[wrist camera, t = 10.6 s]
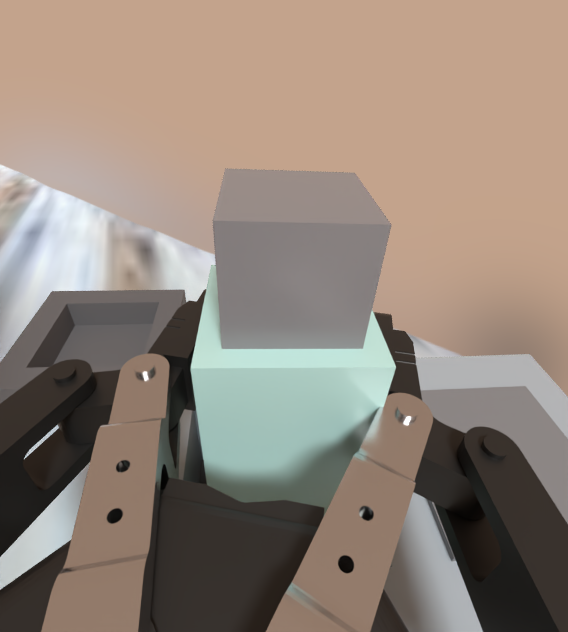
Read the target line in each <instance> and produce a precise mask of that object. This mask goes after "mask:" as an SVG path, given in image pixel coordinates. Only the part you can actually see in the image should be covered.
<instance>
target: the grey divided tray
mask: <svg viewBox="0 0 568 632" xmlns="http://www.w3.org/2000/svg"><path fill="white" fill-rule="evenodd" d="M416 365H417V371H418V377H419V383H420V390H421V396H422V401H423V402H424V403H425V404H426V405H427V406H428V407H429V409H430V410H431V412H432V415H433V417H434V418H436V419H437V420H438V421H440V422H442V423H443V424H445V425H447V426H450V427H452V428H454V429H457V430H459V431H461V432H464V433H467V431H468V430H470V429H471V428H474V427H479V426H482V427H489V428H493V429H495V430H498V431H500V432H502V433H504V434H505V435H507V436H508V437H509V438H510V439H512V440H513V441H514V442H515V443H516V444H517V446H518V447H519V449H520V450H521V452H522V453H523V455H524V456H525V458H526V459H527V461H528V463H529V464H530V466H531V467H532V469H533V470H534V472H535V474H536V475H537V477H538V478H539V480H540V481H541V483H542V485H543V486H544V488H545V489H546V491H547V492H548V494H549V495H550V497H551V499H552V500H553V502H554V503H555V505H556V506H557V508H558V510H559V511H560V513H561V514H562V516H563V517H564V519H565V521H566V522H567V524H568V397H567V396H566V394H565V393H564V392H563V391H562V390H561V389H560V388H559V387H558V386H557V384H556V383H555V382H554V381H553V380H552V379H551V378H550V377H549V375H548V374H547V373H546V372H545V371H544V370H543V369H542V368H541V366H540V365H539V364H538V363H537V362H536V361H535V360H534V359H533V357H532V356H531V355H530V354H523V355H522V354H521V355H493V356H461V357H430V358H416ZM180 425H181V427H180V454H179V479H180V480H185V481H190V482H195V483H200V484H206V485H207V481H206V474H205V467H204V460H203V453H202V446H201V439H200V432H199V425H198V418H197V411H191V410H186V409H184V411H183V413H182V415H181V417H180ZM384 590H385V592H386V593H387V595H388V597H389V598H390V600H391V602H392V603H393V605H394V607H395V608H396V610H397V612H398V614H399V615H400V617H401V619H402V620H403V622H404V624H405V625H406V627H407V629H408V631H409V632H483V630H482V628H481V625H480V622H479V620H478V617H477V615H476V612H475V609H474V607H473V604H472V602H471V599H470V596H469V594H468V591H467V588H466V586H465V583H464V581H463V578H462V575H461V573H460V570H459V568H458V565H457V562H456V560H455V557H454V554H453V552H452V549H451V547H450V544H449V541H448V539H447V536H446V534H445V531H444V528H443V526H442V523H441V521H440V518H439V515H438V513H437V510H436V507H435V505H434V502H432V501H430V500H428V499H426V498H424V497H422V496H420V495H418V494H416V493H414V492H413V495H412V498H411V501H410V504H409V508H408V511H407V514H406V517H405V521H404V524H403V527H402V530H401V534H400V537H399V540H398V543H397V547H396V550H395V553H394V556H393V559H392V563H391V566H390V569H389V572H388V576H387V579H386V582H385V585H384Z"/></svg>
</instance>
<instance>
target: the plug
mask: <svg viewBox="0 0 568 632" xmlns="http://www.w3.org/2000/svg"><path fill="white" fill-rule="evenodd" d="M390 229H391V223H390V222H389V221H388V219H387V218H386V216H385V215H384V213H383V212H382V211H381V209H380V208H379V206H378V205H377V204H376V202H375V201H374V199H373V198H372V196H371V195H370V194H369V192H368V191H367V189H366V188H365V187H364V185H363V184H362V182H361V181H360V180H359V178H358V177H357V175H356V174H355V173H343V172H311V171H283V170H280V171H279V170H250V169H225V172H224V177H223V181H222V185H221V189H220V193H219V197H218V201H217V206H216V210H215V214H214V218H213V231H214V244H215V259H216V265H211V269H210V274H209V279H208V284H207V289H206V294H205V299H204V304H203V309H202V314H201V319H200V324H199V329H198V334H197V339H196V344H195V348H194V353H193V358H192V363H191V375H192V383H193V390H194V397H195V404H196V411H197V418H198V425H199V432H200V439H201V446H202V453H203V460H204V467H205V474H206V481H207V485H208V486H210V487H212V488H214V489H216V490H218V491H220V492H222V493H224V494H226V495H228V496H230V497H232V498H234V499H236V500H238V501H240V502H245V503H248V502H262V501H277V500H288V501H293V502H298V503H304V504H309V505H314V506H319V507H324V515H325V513H326V511H327V509H328V507H329V505H330V503H331V501H332V499H333V497H334V495H335V493H336V491H337V488H338V486H339V484H340V482H341V480H342V478H343V476H344V474H345V472H346V470H347V468H348V466H349V464H350V462H351V460H352V458H353V456H354V454H355V453H356V452H358V451H359V449H360V447H361V445H362V443H363V441H364V438H365V436H366V434H367V432H368V430H369V428H370V426H371V424H372V422H373V420H374V418H375V415H376V413H377V411H378V409H379V407H384V404H385V401H386V398H387V395H388V391H389V388H390V385H391V382H392V379H393V376H394V372H395V369H396V366H395V363H394V361H393V358H392V356H391V354H390V351H389V349H388V346H387V344H386V342H385V339H384V337H383V334H382V332H381V330H380V327H379V325H378V323H377V320H376V318H375V315H374V313H373V311H372V307H373V302H374V298H375V294H376V290H377V285H378V281H379V276H380V272H381V268H382V263H383V259H384V255H385V251H386V246H387V242H388V238H389V233H390Z"/></svg>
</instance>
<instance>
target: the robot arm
mask: <svg viewBox="0 0 568 632" xmlns="http://www.w3.org/2000/svg"><path fill="white" fill-rule="evenodd" d="M205 294H206V289H205V290H204V291H203V293H202V294H201V296H200V297H199V299H198V301H197V302H195V301H188V302H187V303H185V304H184V305H182V306H181V307H179V308H178V309H177V311H176V312H175V313H174V315H173V316H172V319H170V321H169V322H168V324H167V325H166V327H165V328H164V330H163V331H162V332H161V334H160V335H159V337H158V338H157V340H156V341H155V343H154V344H153V346H152V347H151V348H150V350H149V351H148V353H147V354H142V355H139V356H136V357H134V358H132V359H130V360H129V361H127V362H126V363H125V364H124V365H123V367H122V368H121V370H113V371H102V372H93V371H92V368H91V366H90V364H89V363H88V362H86V361H83V360H79V359H70V360H65V361H61V362H58V363H56V364H54V365H52V366H50V367H49V368H47V369H46V370H45V371H43V372H42V373H41V374H39V375H38V376H36V377H35V378H34V379H32V380H31V381H30V382H28V383H27V384H26V385H24V386H23V387H22V388H20V389H19V390H18V391H16V392H15V393H14V394H12V395H11V396H10V397H8V398H7V399H6V400H4V401H3V402H2V403H0V557H1V555H2V554H3V553H4V552H5V551H6V550H7V549H8V548H9V547H10V546H11V545H12V544H13V543H14V542H15V541H16V540H17V538H18V537H19V536H20V535H21V534H22V533H23V532H24V531H25V530H26V529H27V528H28V527H29V526H30V525H31V524H32V523H33V521H34V520H35V519H36V518H37V517H38V516H39V515H40V514H41V513H42V512H43V511H44V510H45V509H46V508H47V507H48V506H49V504H50V503H51V502H52V501H53V500H54V499H55V498H56V497H57V496H58V495H59V494H60V493H61V492H62V491H63V490H64V489H65V487H66V486H67V485H68V484H69V483H70V482H71V481H72V480H73V479H74V478H75V477H76V476H77V475H78V474H79V473H80V472H81V470H82V469H83V468H84V467H85V466H86V465H87V464H88V463H89V462H90V465H89V469H88V473H87V477H86V481H85V485H84V490H83V494H82V498H81V502H80V506H79V510H78V514H77V518H76V523H75V527H74V531H73V535H72V539H71V540H70V541H69V542H67V543H66V544H65V545H63V546H62V547H60V548H59V549H57V550H56V551H55V552H53V553H52V554H50V555H49V556H48V557H46V558H45V559H43V560H42V561H41V562H39V563H38V564H36V565H35V566H33V567H32V568H31V569H29V570H28V571H26V572H25V573H24V574H22V575H21V576H19V577H18V578H17V579H15V580H14V581H12V582H11V583H9V584H8V585H7V586H5V587H4V588H2V589H1V590H0V632H409V631H408V629H407V627H406V625H405V624H404V622H403V620H402V619H401V617H400V615H399V614H398V612H397V610H396V608H395V607H394V605H393V603H392V602H391V600H390V598H389V597H388V595H387V593H386V592H385V590H384V585H385V582H386V579H387V576H388V572H389V569H390V566H391V563H392V559H393V556H394V553H395V550H396V547H397V543H398V540H399V537H400V534H401V530H402V527H403V524H404V521H405V517H406V514H407V511H408V508H409V504H410V501H411V498H412V495H413V492H414V493H416V494H418V495H420V496H422V497H424V498H426V499H428V500H430V501H432V502H434V505H435V507H436V510H437V513H438V515H439V518H440V521H441V523H442V526H443V528H444V531H445V534H446V536H447V539H448V541H449V544H450V547H451V549H452V552H453V554H454V557H455V560H456V562H457V565H458V568H459V570H460V573H461V575H462V578H463V581H464V583H465V586H466V588H467V591H468V594H469V596H470V599H471V602H472V604H473V607H474V609H475V612H476V615H477V617H478V620H479V622H480V625H481V628H482V630H483V632H568V524H567V522H566V521H565V519H564V517H563V516H562V514H561V513H560V511H559V510H558V508H557V506H556V505H555V503H554V502H553V500H552V499H551V497H550V495H549V494H548V492H547V491H546V489H545V488H544V486H543V485H542V483H541V481H540V480H539V478H538V477H537V475H536V474H535V472H534V470H533V469H532V467H531V466H530V464H529V463H528V461H527V459H526V458H525V456H524V455H523V453H522V452H521V450H520V449H519V447H518V446H517V444H516V443H515V442H514V441H513V440H512V439H510V438H509V437H508V436H507V435H505V434H504V433H502V432H500V431H498V430H495V429H493V428H489V427H482V426H479V427H474V428H471V429H470V430H468V431H467V433H464V432H461V431H459V430H457V429H454V428H452V427H450V426H447V425H445V424H443V423H442V422H440V421H438V420H437V419H436V418H434V417H433V415H432V412H431V410H430V409H429V407H428V406H427V405H426V404H425V403H424V402H423V401H422V396H421V390H420V383H419V377H418V371H417V365H416V358H415V356H414V354H415V352H414V346H413V342H412V340H411V339H410V337H409V336H408V335H407V333H406V332H405V331H399V330H393V325H392V316H391V315H389V314H383V313H376V312H373V313H374V315H375V318H376V320H377V323H378V325H379V327H380V330H381V332H382V334H383V337H384V339H385V342H386V344H387V346H388V349H389V351H390V354H391V356H392V358H393V361H394V363H395V366H396V369H395V372H394V376H393V379H392V382H391V385H390V388H389V391H388V395H387V398H386V401H385V404H384V407H379V409H378V411H377V413H376V415H375V418H374V420H373V422H372V424H371V426H370V428H369V430H368V432H367V434H366V436H365V438H364V441H363V443H362V445H361V447H360V449H359V451H358V452H356V453H355V454H354V456H353V458H352V460H351V462H350V464H349V466H348V468H347V470H346V472H345V474H344V476H343V478H342V480H341V482H340V484H339V486H338V488H337V491H336V493H335V495H334V497H333V499H332V501H331V503H330V505H329V507H328V509H327V511H326V513H325V515H324V507H319V506H314V505H309V504H304V503H298V502H293V501H288V500H277V501H262V502H248V503H245V502H240V501H238V500H236V499H234V498H232V497H230V496H228V495H226V494H224V493H222V492H220V491H218V490H216V489H214V488H212V487H210V486H208V485H206V484H200V483H195V482H190V481H185V480H180V479H179V454H180V427H181V425H180V417H181V415H182V413H183V411H184V409H186V410H191V411H196V404H195V397H194V390H193V383H192V375H191V363H192V358H193V353H194V348H195V344H196V339H197V334H198V329H199V324H200V319H201V314H202V309H203V304H204V299H205ZM57 424H58V426H59V429H57V430H56V431H55V432H54V433H53V434H52V435H51V436H50V437H49V438H47V439H46V440H45V441H44V442H43V443H42V444H41V445H40V446H39V447H38V448H36V449H35V450H34V451H33V452H32V453H31V454H30V455H29V456H28V457H26V458H25V459H24V457H25V455H26V454H27V452H28V451H29V450H30V449H31V448H32V447H33V446H34V445H35V444H36V443H37V442H38V441H39V440H41V439H42V438H43V437H44V436H45V435H46V434H47V433H48V432H50V431H51V430H52V429H53V428H54V427H55V426H56V425H57Z"/></svg>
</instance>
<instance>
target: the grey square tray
mask: <svg viewBox="0 0 568 632" xmlns="http://www.w3.org/2000/svg"><path fill="white" fill-rule="evenodd" d="M185 303H186V298H185V291H184V290H126V291H52V292H51V293H50V295H49V296H48V298H47V299H46V300H45V302H44V303H43V305H42V306H41V307H40V309H39V310H38V312H37V313H36V314H35V316H34V317H33V318H32V320H31V321H30V323H29V324H28V325H27V327H26V328H25V330H24V331H23V332H22V334H21V335H20V336H19V338H18V339H17V341H16V342H15V343H14V345H13V346H12V348H11V349H10V350H9V352H8V353H7V355H6V356H5V357H4V359H3V360H2V361H1V363H0V403H2V402H3V401H4V400H6V399H7V398H8V397H10V396H11V395H12V394H14V393H15V392H16V391H18V390H19V389H20V388H22V387H23V386H24V385H26V384H27V383H28V382H30V381H31V380H32V379H34V378H35V377H36V376H38V375H39V374H41V373H42V372H43V371H45V370H46V369H47V368H49V367H50V366H52V365H54V364H56V363H58V362H61V361H65V360H70V359H79V360H83V361H86V362H88V363H89V364H90V366H91V368H92V371H93V372H102V371H113V370H121V368H122V367H123V365H124V364H125V363H126V362H127V361H129V360H130V359H132V358H134V357H136V356H139V355H142V354H147V353H148V351H149V350H150V348H151V347H152V346H153V344H154V343H155V341H156V340H157V338H158V337H159V335H160V334H161V332H162V331H163V330H164V328H165V327H166V325H167V324H168V322H169V321H170V319H172V316H173V315H174V313H175V312H176V311H177V309H178V308H179V307H181V306H182V305H184V304H185Z"/></svg>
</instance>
